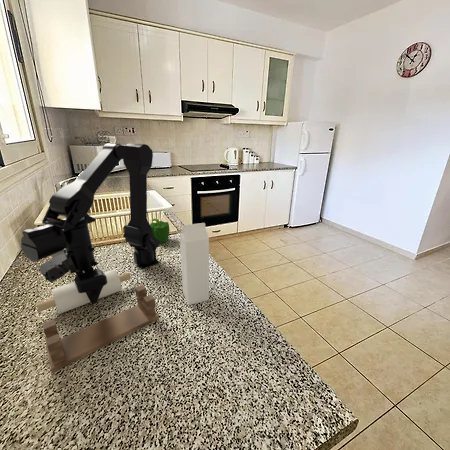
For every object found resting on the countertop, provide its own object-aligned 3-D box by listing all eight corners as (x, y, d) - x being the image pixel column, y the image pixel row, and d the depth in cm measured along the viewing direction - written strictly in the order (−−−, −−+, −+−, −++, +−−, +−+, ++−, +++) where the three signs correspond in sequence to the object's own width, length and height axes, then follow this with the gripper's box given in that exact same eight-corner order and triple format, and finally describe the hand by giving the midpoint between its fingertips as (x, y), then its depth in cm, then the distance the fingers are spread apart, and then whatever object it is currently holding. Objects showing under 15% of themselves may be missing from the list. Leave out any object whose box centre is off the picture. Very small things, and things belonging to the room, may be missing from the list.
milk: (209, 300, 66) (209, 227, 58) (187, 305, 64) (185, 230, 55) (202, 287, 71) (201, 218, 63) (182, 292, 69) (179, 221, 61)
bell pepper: (174, 239, 102) (173, 217, 98) (162, 247, 95) (160, 223, 91) (158, 235, 105) (157, 214, 101) (146, 242, 98) (143, 220, 94)
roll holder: (146, 304, 64) (144, 283, 61) (158, 318, 59) (156, 297, 56) (47, 348, 50) (39, 324, 48) (52, 372, 45) (43, 347, 43)
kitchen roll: (126, 279, 74) (124, 261, 72) (134, 289, 70) (132, 271, 67) (39, 311, 60) (32, 290, 58) (42, 326, 56) (35, 304, 54)
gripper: (33, 238, 60) (48, 289, 66) (42, 270, 47) (60, 330, 53) (83, 228, 67) (92, 275, 73) (102, 253, 54) (112, 308, 60)
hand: (89, 294), depth 64 cm, fingers open, 9 cm apart
